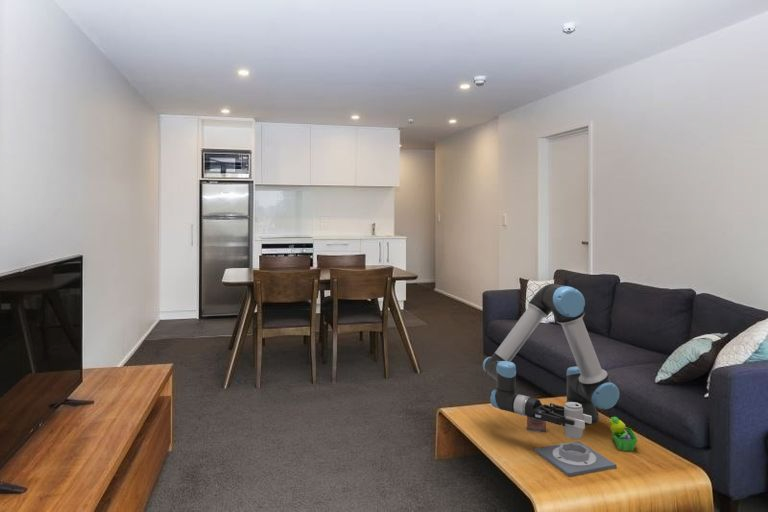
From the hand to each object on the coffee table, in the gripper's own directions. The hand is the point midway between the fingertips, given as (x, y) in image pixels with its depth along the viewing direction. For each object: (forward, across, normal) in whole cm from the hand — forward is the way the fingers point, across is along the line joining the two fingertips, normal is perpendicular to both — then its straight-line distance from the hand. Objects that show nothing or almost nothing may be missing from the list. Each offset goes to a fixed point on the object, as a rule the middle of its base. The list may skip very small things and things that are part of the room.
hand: (587, 422), depth 174 cm
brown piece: (-27, -16, -16) cm, 35 cm away
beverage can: (-5, 0, -7) cm, 9 cm away
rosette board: (-5, 0, -15) cm, 16 cm away
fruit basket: (+4, -24, -15) cm, 29 cm away
